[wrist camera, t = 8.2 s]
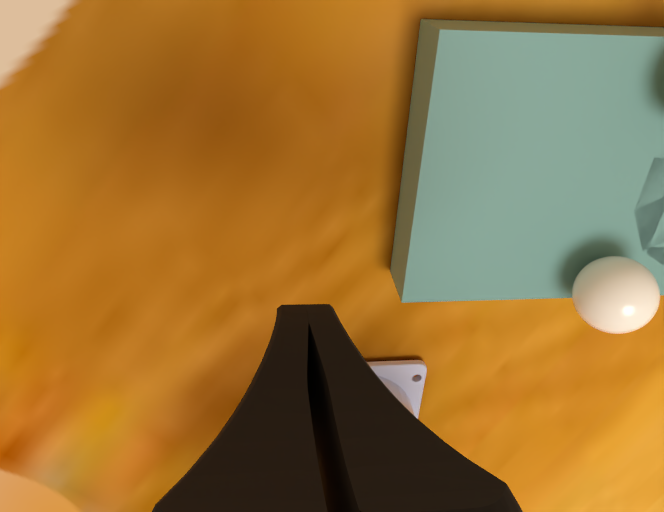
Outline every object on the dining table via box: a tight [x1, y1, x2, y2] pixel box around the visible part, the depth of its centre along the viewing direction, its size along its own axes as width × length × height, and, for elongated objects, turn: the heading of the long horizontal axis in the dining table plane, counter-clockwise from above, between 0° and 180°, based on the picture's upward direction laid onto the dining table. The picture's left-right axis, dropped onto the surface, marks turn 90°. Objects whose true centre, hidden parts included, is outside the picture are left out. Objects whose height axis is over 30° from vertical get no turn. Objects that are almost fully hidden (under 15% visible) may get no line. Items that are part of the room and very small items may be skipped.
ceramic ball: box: [572, 256, 660, 334], centre depth 22 cm, size 3×3×3 cm
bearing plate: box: [390, 19, 664, 303], centre depth 22 cm, size 19×11×2 cm, turn 87°
